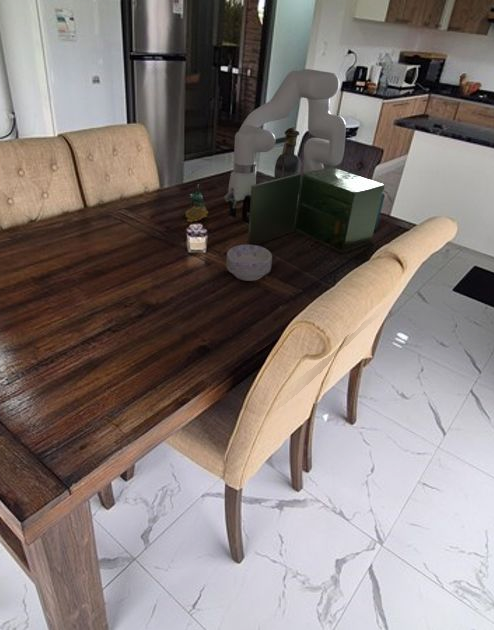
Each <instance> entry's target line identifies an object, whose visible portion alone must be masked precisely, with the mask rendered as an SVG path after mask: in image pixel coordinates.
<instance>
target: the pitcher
mask: <svg viewBox="0 0 494 630" xmlns="http://www.w3.org/2000/svg"><path fill="white" fill-rule="evenodd" d="M283 134H284V135H285V136H284V137H285V138H284V144H283V147H282V152H281V153H282V154H281V153H280V155H278V157H277V159H276V161H275V166H274V171H273V172H274V174H273V176H274V180H275V179H279V178H283V177H287V176H291V175H295V174H300V171H301V163H302V161H301V158H300V157H299V156H298V155H297V154H295V152H296V147H297V139H298V136H299V135H300V131H298V130H295V126H294V127H293V126H292V127H289V128H287V129H285V131H284V133H283Z"/></svg>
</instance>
